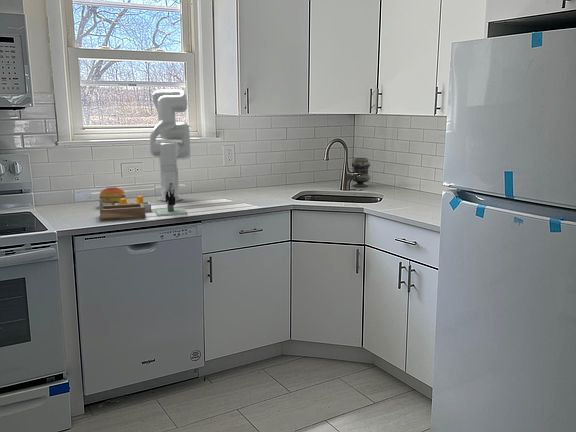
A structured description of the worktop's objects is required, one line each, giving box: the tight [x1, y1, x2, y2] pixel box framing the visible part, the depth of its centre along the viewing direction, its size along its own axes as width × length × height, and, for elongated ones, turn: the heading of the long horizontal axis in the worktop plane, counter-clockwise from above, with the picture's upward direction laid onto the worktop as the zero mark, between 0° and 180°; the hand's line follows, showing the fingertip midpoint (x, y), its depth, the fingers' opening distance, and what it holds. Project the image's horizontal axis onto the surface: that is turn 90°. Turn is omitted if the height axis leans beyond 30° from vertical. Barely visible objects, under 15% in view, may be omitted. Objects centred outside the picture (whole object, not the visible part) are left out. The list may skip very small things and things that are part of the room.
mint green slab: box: [154, 201, 188, 217], centre depth 277 cm, size 12×14×6 cm
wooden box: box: [99, 199, 146, 222], centre depth 268 cm, size 12×20×8 cm, turn 109°
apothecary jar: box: [351, 157, 371, 188], centre depth 359 cm, size 12×12×18 cm
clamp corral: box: [115, 201, 152, 213], centre depth 283 cm, size 9×17×4 cm, turn 109°
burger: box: [99, 186, 127, 205], centre depth 294 cm, size 13×14×10 cm
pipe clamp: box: [120, 195, 144, 205], centre depth 283 cm, size 12×4×6 cm, turn 141°
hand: (170, 203), depth 276 cm, fingers open, 9 cm apart
